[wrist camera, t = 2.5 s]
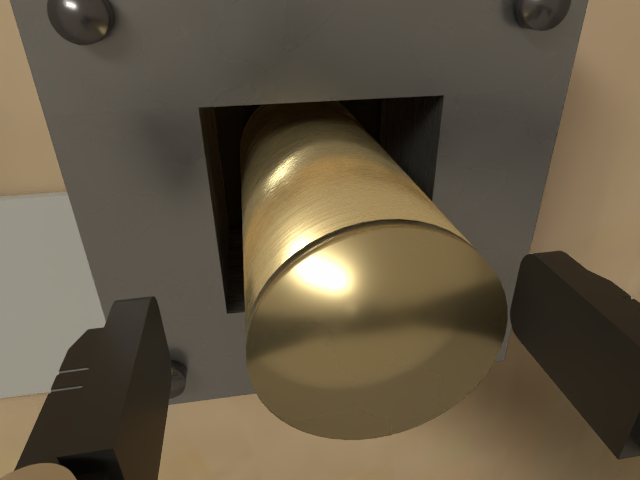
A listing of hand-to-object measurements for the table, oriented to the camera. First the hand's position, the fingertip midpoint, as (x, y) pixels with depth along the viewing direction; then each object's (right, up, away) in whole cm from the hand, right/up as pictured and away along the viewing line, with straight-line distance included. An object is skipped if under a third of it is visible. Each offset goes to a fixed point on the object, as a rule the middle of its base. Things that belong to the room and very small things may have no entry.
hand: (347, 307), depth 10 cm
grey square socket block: (-1, +5, +9) cm, 10 cm away
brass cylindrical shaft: (-1, +5, +9) cm, 10 cm away
